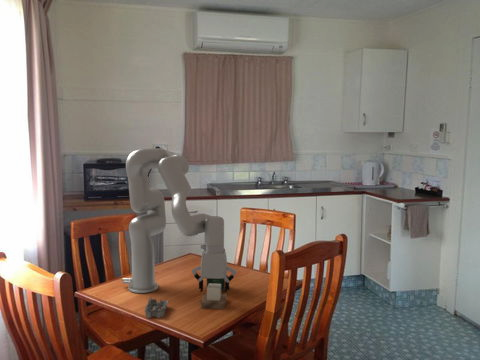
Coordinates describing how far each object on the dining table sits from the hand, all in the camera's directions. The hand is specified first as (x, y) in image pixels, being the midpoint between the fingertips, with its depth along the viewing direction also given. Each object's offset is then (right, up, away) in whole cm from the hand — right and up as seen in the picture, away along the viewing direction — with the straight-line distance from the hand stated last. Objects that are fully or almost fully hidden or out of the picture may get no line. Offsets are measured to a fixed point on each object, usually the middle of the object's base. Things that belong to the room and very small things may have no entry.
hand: (214, 291), depth 174 cm
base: (0, -6, +1) cm, 6 cm away
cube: (0, -3, 0) cm, 3 cm away
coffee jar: (0, -4, +18) cm, 18 cm away
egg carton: (-21, -6, -7) cm, 23 cm away
